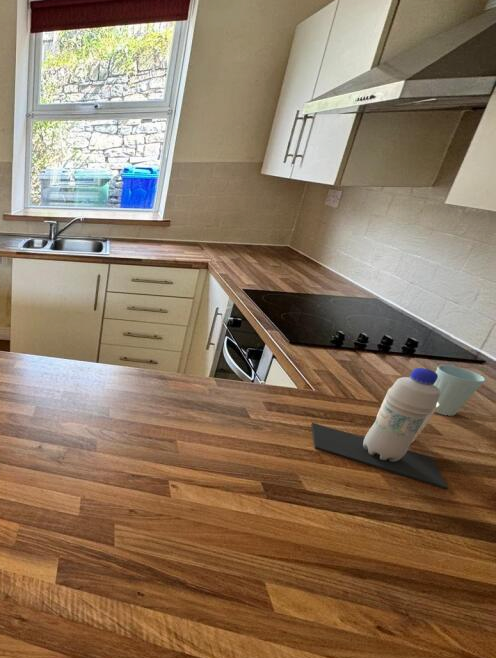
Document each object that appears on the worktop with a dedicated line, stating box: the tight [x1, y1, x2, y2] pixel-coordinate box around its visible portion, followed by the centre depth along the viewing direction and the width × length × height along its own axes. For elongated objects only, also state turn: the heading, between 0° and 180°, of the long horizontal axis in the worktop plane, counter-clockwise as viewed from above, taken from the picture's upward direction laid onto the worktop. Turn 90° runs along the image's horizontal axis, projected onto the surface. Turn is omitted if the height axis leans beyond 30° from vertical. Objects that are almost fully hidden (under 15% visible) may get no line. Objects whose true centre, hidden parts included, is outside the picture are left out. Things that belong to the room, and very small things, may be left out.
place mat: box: [310, 422, 449, 491], centre depth 84 cm, size 20×10×1 cm, turn 57°
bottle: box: [363, 367, 441, 462], centre depth 79 cm, size 7×7×20 cm
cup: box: [434, 364, 486, 417], centre depth 97 cm, size 8×8×10 cm
